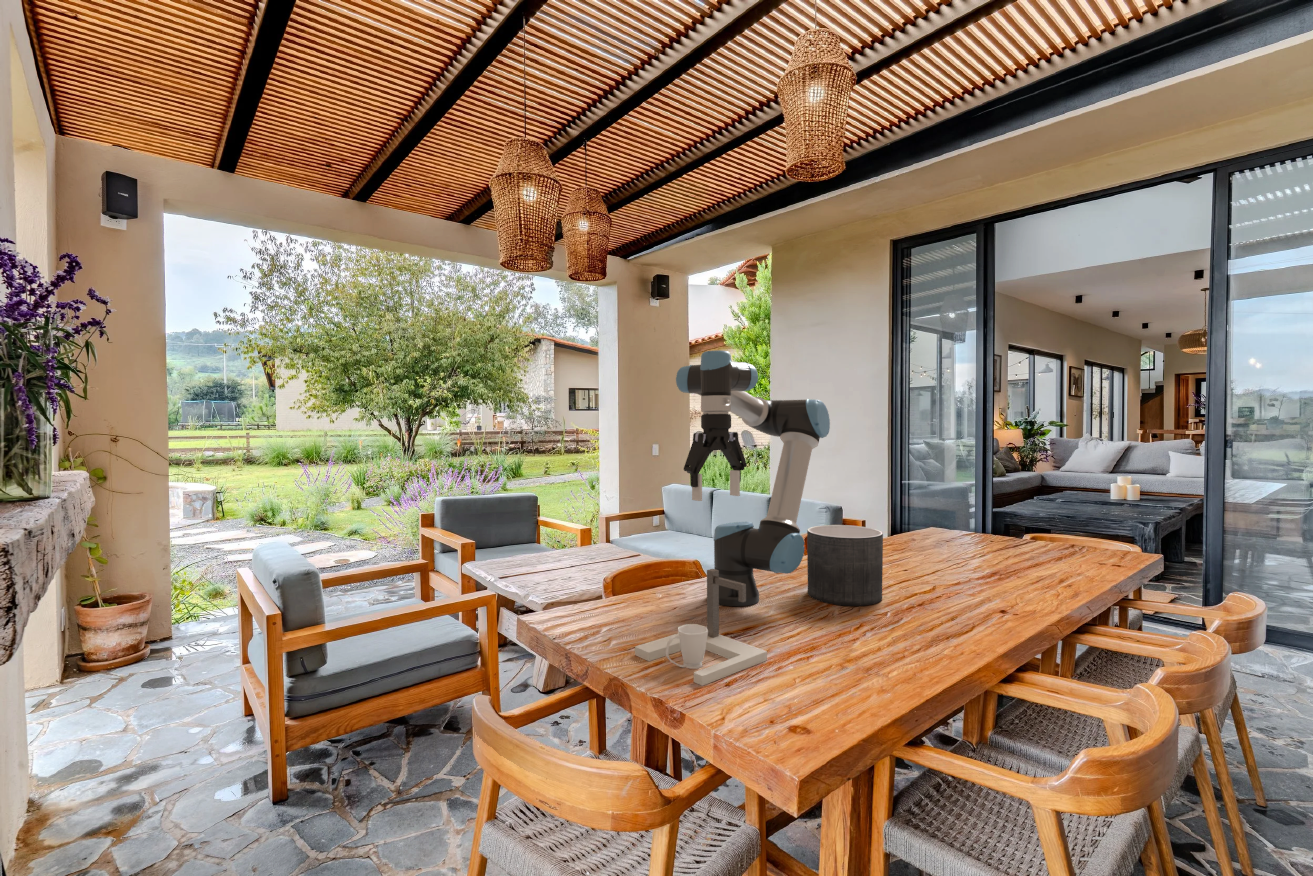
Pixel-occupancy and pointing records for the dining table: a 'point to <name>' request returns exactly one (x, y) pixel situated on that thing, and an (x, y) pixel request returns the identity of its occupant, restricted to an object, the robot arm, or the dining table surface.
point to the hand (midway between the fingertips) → (716, 498)
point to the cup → (690, 645)
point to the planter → (845, 564)
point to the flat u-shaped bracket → (726, 647)
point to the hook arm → (713, 598)
